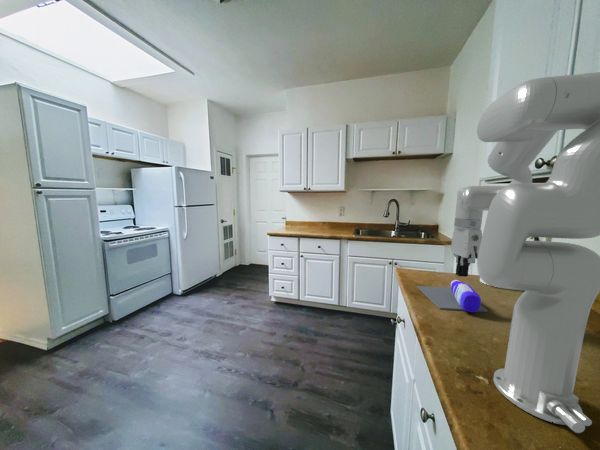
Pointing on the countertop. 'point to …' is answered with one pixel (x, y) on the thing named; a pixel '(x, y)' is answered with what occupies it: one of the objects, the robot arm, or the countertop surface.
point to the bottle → (466, 296)
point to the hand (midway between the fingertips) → (461, 275)
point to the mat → (443, 298)
